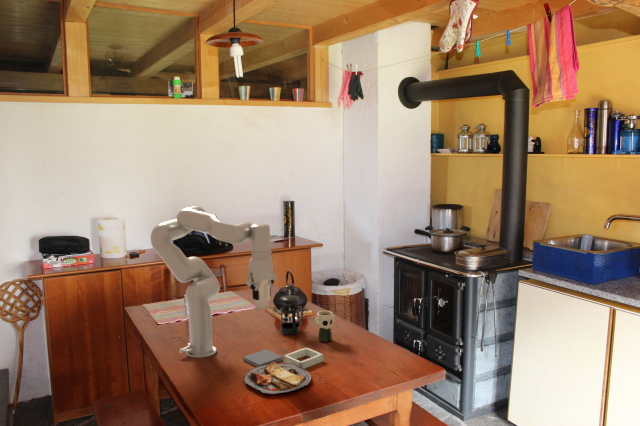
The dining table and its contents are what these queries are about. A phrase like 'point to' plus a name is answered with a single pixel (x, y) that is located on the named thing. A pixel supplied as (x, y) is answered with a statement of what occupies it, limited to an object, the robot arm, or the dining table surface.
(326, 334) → the character mug
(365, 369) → the dining table surface
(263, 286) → the cream jug
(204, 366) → the dining table surface
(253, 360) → the slate coaster
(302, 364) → the cream rectangular frame
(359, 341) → the dining table surface
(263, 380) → the food plate
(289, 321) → the french press
